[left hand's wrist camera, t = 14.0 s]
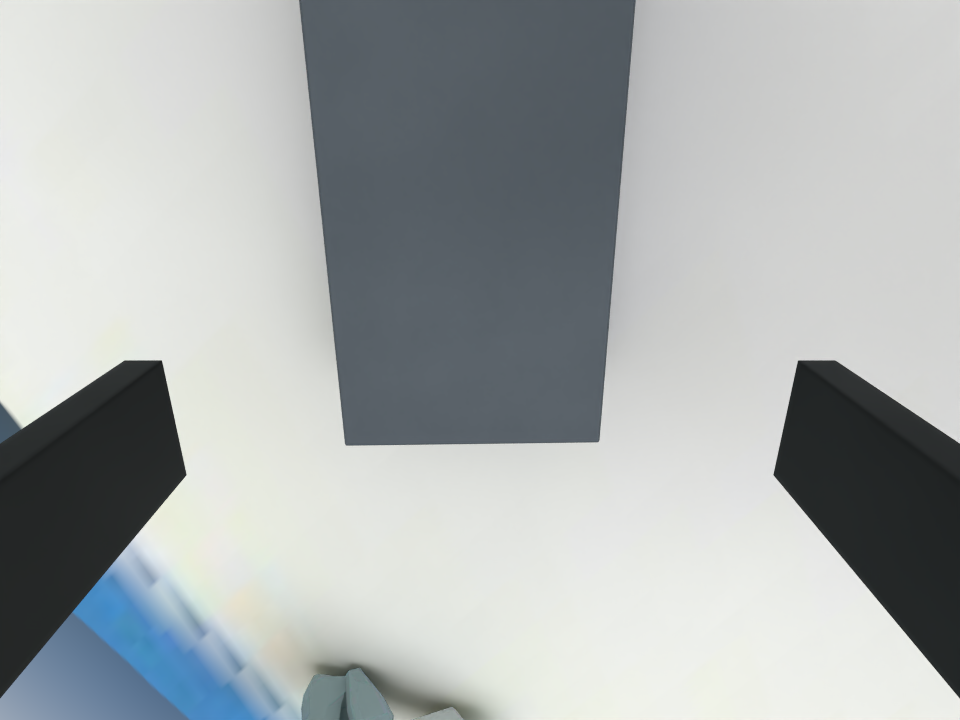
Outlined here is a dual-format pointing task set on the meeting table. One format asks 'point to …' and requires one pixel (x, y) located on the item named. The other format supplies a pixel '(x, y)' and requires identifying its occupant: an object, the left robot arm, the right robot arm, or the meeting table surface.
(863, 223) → the meeting table surface
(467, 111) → the dark grey long bar
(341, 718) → the toy gun
